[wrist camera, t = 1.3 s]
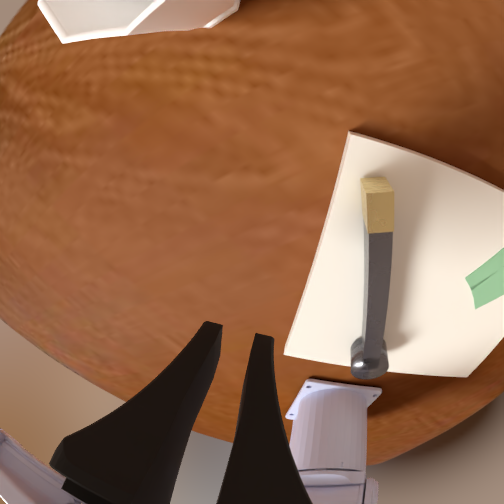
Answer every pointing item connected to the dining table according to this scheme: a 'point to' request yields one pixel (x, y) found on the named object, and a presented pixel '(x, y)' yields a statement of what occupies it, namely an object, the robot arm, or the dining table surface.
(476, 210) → the board
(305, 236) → the dining table surface
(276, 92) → the dining table surface
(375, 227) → the lever
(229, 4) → the cup
